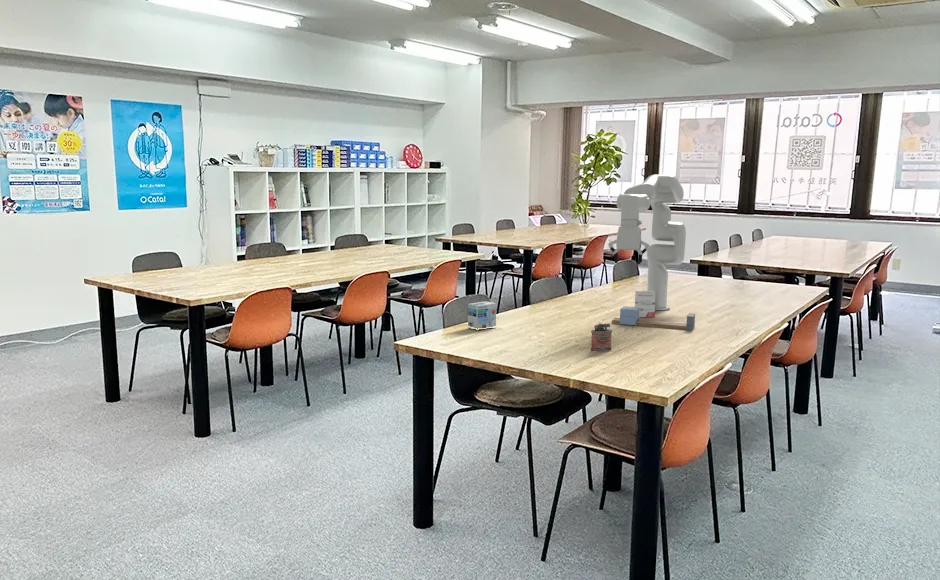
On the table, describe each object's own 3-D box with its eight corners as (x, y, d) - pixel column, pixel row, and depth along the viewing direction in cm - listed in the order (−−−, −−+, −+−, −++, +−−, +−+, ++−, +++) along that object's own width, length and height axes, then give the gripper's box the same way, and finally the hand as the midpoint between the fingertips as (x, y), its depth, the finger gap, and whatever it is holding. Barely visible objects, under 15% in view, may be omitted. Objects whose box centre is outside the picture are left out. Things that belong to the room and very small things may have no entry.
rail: (615, 320, 315) (615, 307, 314) (694, 327, 302) (695, 313, 301) (611, 323, 308) (611, 310, 307) (692, 330, 295) (693, 316, 294)
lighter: (593, 352, 257) (593, 325, 256) (589, 349, 260) (589, 323, 259) (613, 350, 259) (614, 324, 258) (608, 348, 263) (609, 322, 261)
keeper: (623, 320, 314) (623, 306, 313) (639, 321, 311) (639, 307, 310) (619, 323, 306) (619, 309, 306) (635, 325, 304) (636, 310, 303)
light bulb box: (477, 331, 292) (477, 305, 290) (467, 328, 297) (467, 303, 295) (496, 328, 299) (497, 302, 297) (486, 325, 304) (486, 300, 302)
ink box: (652, 315, 328) (653, 290, 326) (654, 317, 323) (655, 291, 321) (633, 315, 329) (634, 289, 327) (635, 317, 324) (636, 291, 322)
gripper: (651, 223, 302) (649, 263, 304) (611, 222, 308) (609, 261, 310) (649, 224, 295) (647, 265, 297) (607, 223, 301) (606, 263, 303)
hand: (627, 263), depth 304 cm, fingers open, 9 cm apart
